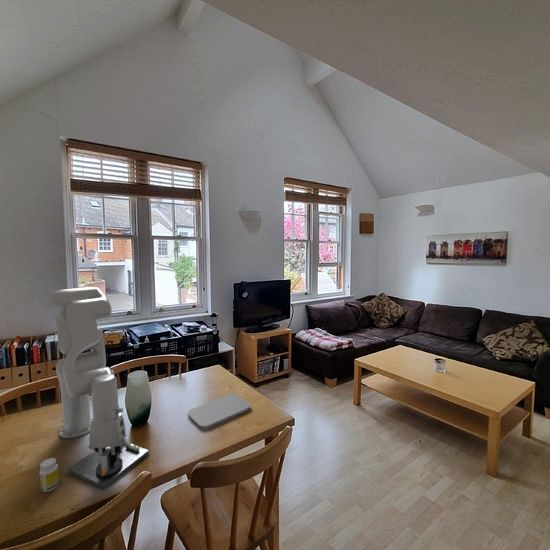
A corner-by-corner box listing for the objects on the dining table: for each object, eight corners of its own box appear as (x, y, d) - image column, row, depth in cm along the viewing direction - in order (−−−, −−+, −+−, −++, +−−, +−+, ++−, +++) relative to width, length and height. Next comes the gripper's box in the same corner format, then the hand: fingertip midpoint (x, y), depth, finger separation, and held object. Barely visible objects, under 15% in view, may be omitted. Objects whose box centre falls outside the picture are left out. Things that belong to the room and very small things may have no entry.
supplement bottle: (62, 480, 100) (60, 456, 99) (52, 492, 95) (50, 467, 94) (47, 480, 100) (45, 457, 99) (37, 492, 95) (34, 467, 94)
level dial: (102, 460, 107) (101, 442, 106) (126, 458, 107) (125, 440, 107) (90, 479, 98) (88, 459, 97) (115, 477, 99) (114, 458, 98)
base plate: (67, 472, 103) (66, 463, 103) (114, 441, 119) (114, 433, 119) (103, 490, 96) (102, 480, 95) (148, 454, 112) (148, 445, 112)
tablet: (185, 416, 137) (185, 411, 137) (233, 397, 154) (233, 392, 154) (202, 433, 125) (202, 427, 125) (253, 410, 142) (252, 405, 142)
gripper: (134, 405, 105) (137, 454, 107) (86, 408, 104) (90, 458, 106) (126, 417, 98) (129, 470, 100) (74, 420, 97) (78, 474, 98)
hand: (109, 463), depth 103 cm, fingers closed on level dial, 2 cm apart
